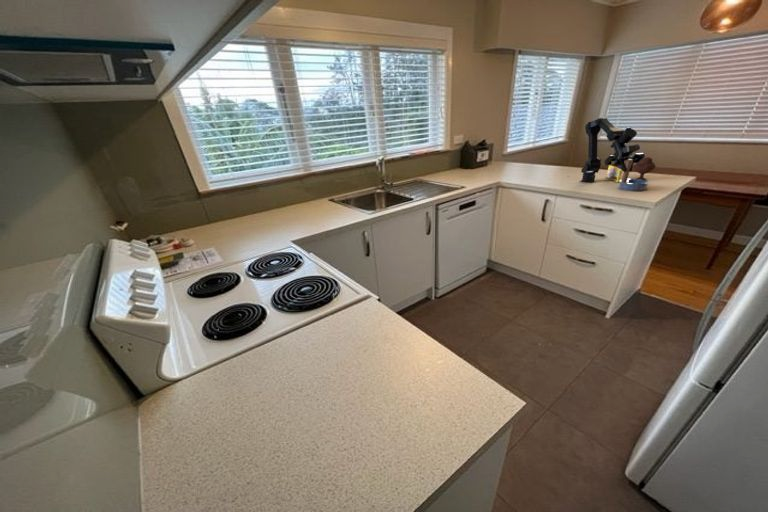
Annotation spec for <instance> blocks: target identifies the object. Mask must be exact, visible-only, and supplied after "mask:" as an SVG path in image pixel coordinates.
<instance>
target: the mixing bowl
mask: <svg viewBox="0 0 768 512" xmlns="http://www.w3.org/2000/svg"><path fill="white" fill-rule="evenodd" d="M627 180H628V181H629V182H628V183H619V184H618V188H619V189H620V190H623V191H628V192H641V191H645V190H647V189H648V185H649V181H648V180H640V179H637V178H628V179H627Z"/></svg>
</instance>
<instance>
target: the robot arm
mask: <svg viewBox="0 0 768 512" xmlns="http://www.w3.org/2000/svg"><path fill="white" fill-rule="evenodd" d="M584 127H585V128H584V129H585V133H586V135H587V136H588V154H587V155H588V156H587V157H588V158H587V159H586V161H585V162H584V163H585V164H584V166H583V167H582V168H581V170H580V171H581V173H582V177H581V180H580V182H581V183H587V184H588V183H594V182H596V180H595V179H596V173H599V171H600V169H601V167H602V164H601V162H602V159H601V158H599V157H598V144H599V143H598V140H599V139H598V137H599V133H600V132H601V130H602V131H604V133H605V134H606V138H607V140H608V141H609V142H612V143H611V145H610V149H611V148H612V149H613V151H614V153H613V155H611V154H610V155H609V156H608V157H606V159H604V162H603V163H604V165H605V166H611V164H612V162H614V163H613V165H612V166H614V167H617V168H619V169H621V170H623V171H622V172H623V173H624V172H626V171H627V170H626V166H625V165H626V162H627V159H633V161H632V165H631V168H630V172H629V173H631V172H633V168H634V164H636V163H638V162H639V161H641V160H642V159H643V158H644V157H646V155H645V153H644V152H639V153H636V152H637V151H640V149H641V146H640V144H639V143H636V144H633V145H627V144H629V143H630V142H631V141H632V140H633V139H634V138H635V137H636V136H637V135H638V132H637V131H636V130H635V129H633V128H632V127H626V128H625V129H622V128H618V127H616V126H614V124H612V123H611V122H610V121H609V119H608V118H607V117H599V118H597V119H594V120H592V121H588V122H587V123H586V124H585V126H584ZM634 152H635V154H634ZM633 154H634V155H633ZM632 155H633V156H632ZM625 161H626V162H625Z"/></svg>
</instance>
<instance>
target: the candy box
mask: <svg viewBox="0 0 768 512" xmlns="http://www.w3.org/2000/svg"><path fill="white" fill-rule="evenodd" d="M623 172H624V171H623V170H621V169H620V168H618V167H617V166H614V165H611V164H610V165H608V167H607V172H606V178H608V179H610V180H612V181H614V182H615V183H619V181H620V180H622V176H623Z"/></svg>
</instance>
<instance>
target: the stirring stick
mask: <svg viewBox="0 0 768 512" xmlns="http://www.w3.org/2000/svg"><path fill="white" fill-rule="evenodd" d="M632 161H633V159H627V162H625V164H626V165H625V166H626V170H627V171H626V172H624V171H623V172H622V175H621V179H620V181H619V182H618V183H619V184H620V183H628V182H629V181H628V180H627V179H629V175H630V173H631V172H630V168H631V165H632Z"/></svg>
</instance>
